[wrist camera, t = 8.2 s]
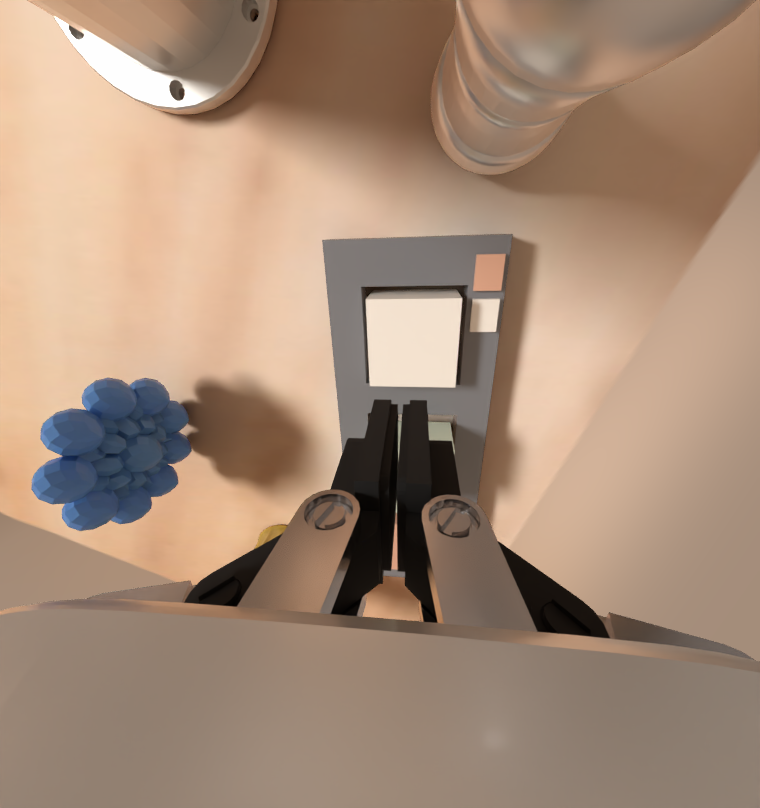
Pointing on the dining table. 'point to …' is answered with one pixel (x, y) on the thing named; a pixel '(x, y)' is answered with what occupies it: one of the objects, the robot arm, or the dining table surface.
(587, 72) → the plastic bottle
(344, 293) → the keypad board
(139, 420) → the blue flower rosette
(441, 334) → the key ivory
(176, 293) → the dining table surface
